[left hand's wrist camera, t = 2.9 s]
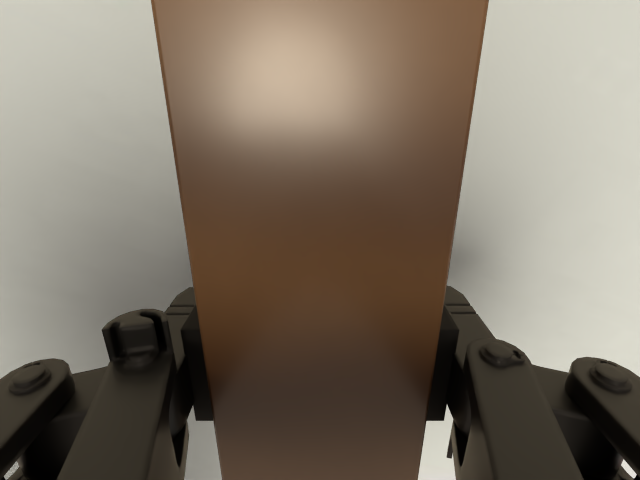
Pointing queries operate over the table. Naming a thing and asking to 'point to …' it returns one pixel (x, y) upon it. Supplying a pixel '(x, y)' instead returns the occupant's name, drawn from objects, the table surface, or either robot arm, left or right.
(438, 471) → the table surface
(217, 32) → the beam
